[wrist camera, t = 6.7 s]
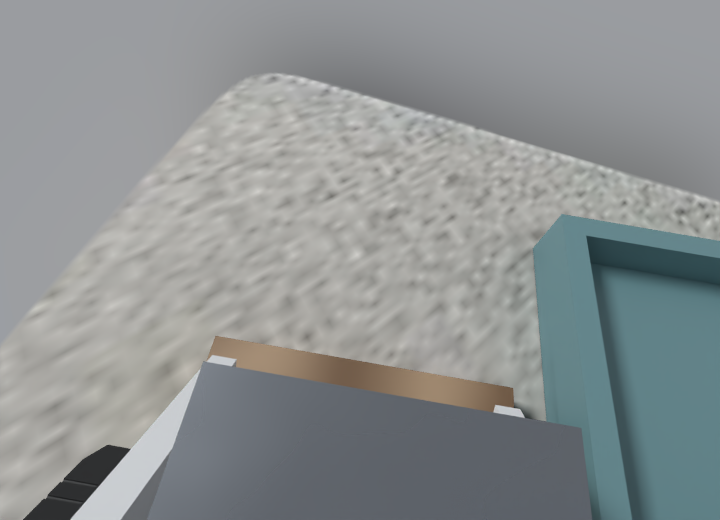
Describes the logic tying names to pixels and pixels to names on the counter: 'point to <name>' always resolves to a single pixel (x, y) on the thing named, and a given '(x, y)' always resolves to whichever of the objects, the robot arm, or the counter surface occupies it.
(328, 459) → the grey rectangular block
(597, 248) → the tray
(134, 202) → the counter surface
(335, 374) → the socket plate
